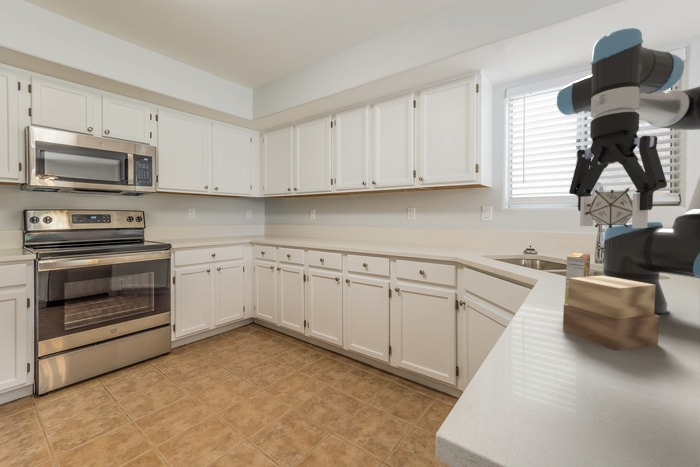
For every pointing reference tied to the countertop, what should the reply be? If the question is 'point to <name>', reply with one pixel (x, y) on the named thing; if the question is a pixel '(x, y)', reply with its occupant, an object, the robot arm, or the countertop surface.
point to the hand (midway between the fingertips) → (610, 226)
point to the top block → (612, 296)
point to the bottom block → (611, 328)
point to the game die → (611, 208)
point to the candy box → (576, 268)
